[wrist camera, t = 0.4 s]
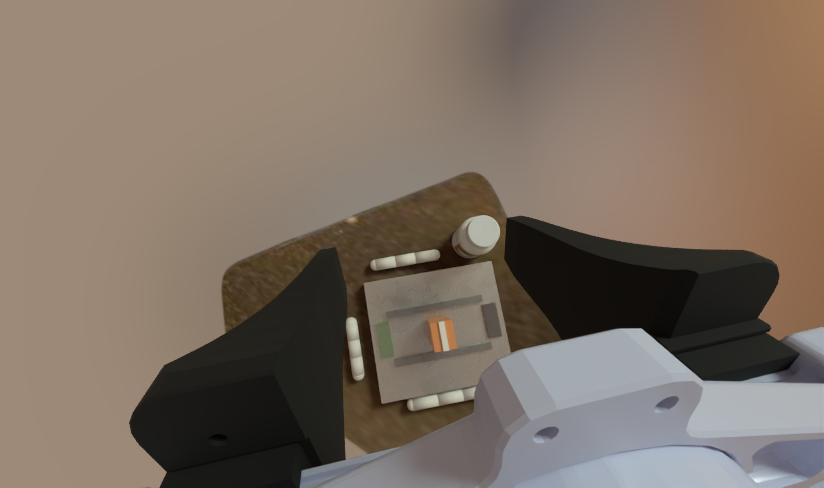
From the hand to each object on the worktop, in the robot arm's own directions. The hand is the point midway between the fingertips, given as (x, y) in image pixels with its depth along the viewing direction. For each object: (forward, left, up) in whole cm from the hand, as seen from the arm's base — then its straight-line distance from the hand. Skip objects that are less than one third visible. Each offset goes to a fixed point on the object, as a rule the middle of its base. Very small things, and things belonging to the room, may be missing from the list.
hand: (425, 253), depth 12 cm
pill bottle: (+3, -8, -26) cm, 28 cm away
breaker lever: (-7, -2, -24) cm, 25 cm away
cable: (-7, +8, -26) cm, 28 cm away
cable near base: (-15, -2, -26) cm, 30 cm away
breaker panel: (-7, -2, -26) cm, 27 cm away
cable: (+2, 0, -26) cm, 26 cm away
